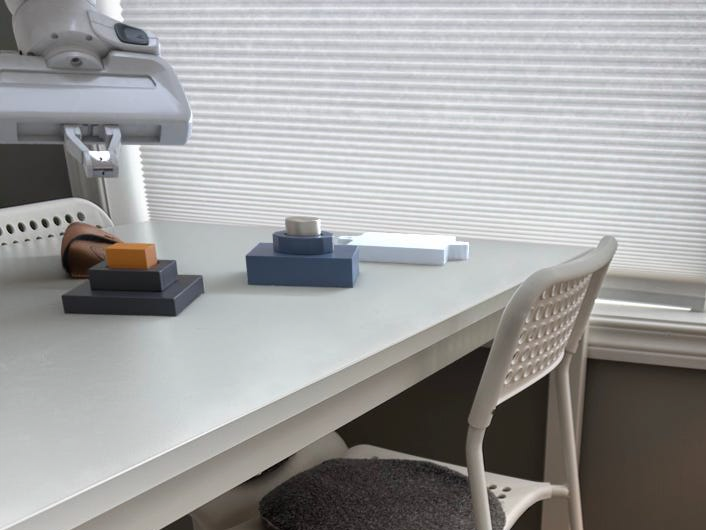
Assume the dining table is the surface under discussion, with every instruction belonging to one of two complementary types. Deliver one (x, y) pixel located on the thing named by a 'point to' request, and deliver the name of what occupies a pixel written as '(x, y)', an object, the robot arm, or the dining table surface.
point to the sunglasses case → (84, 248)
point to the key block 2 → (303, 262)
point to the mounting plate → (407, 248)
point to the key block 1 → (134, 291)
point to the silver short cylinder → (302, 226)
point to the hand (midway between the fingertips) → (103, 173)
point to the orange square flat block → (131, 255)
